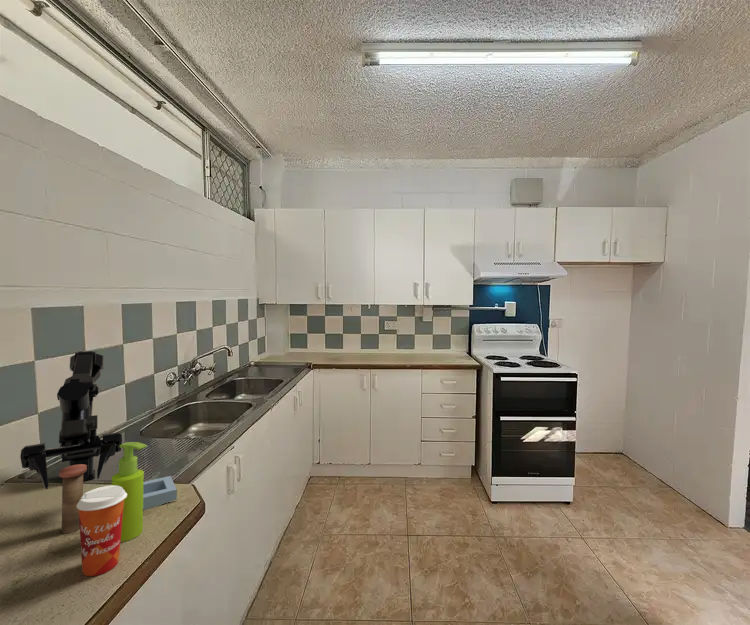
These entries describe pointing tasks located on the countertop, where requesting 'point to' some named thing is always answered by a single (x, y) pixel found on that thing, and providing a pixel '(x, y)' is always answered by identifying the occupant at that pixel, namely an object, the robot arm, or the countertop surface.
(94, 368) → the robot arm
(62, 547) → the countertop surface
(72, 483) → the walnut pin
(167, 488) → the hole block
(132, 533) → the soap dispenser
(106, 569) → the paper cup
